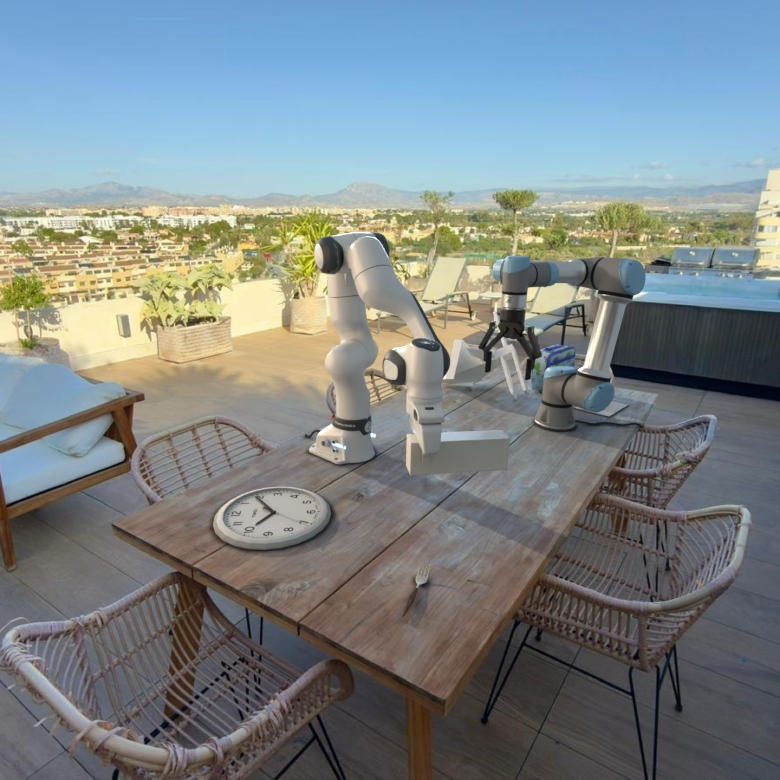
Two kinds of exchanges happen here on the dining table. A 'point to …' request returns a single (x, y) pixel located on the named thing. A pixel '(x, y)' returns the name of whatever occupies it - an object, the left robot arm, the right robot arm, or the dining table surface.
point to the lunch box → (551, 362)
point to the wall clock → (272, 518)
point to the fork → (419, 580)
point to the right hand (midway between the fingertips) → (507, 375)
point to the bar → (461, 453)
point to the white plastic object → (482, 363)
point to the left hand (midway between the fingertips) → (422, 456)
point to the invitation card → (609, 408)
